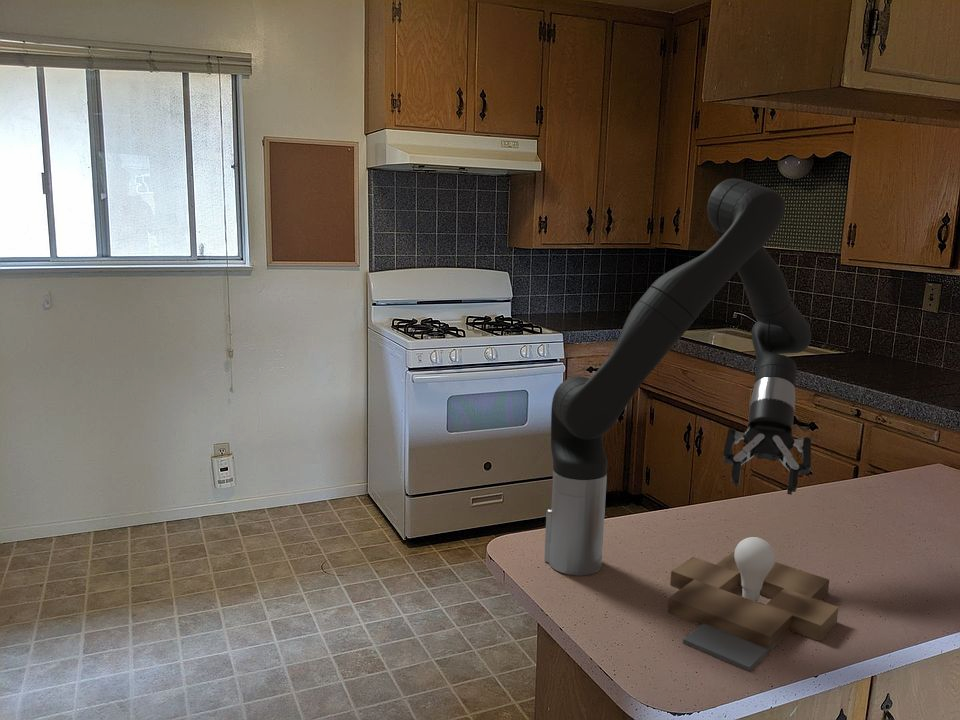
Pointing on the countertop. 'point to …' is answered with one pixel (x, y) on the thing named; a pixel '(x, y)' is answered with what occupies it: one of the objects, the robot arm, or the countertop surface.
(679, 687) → the countertop surface
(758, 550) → the lightbulb
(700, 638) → the slate mat
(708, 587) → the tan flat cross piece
